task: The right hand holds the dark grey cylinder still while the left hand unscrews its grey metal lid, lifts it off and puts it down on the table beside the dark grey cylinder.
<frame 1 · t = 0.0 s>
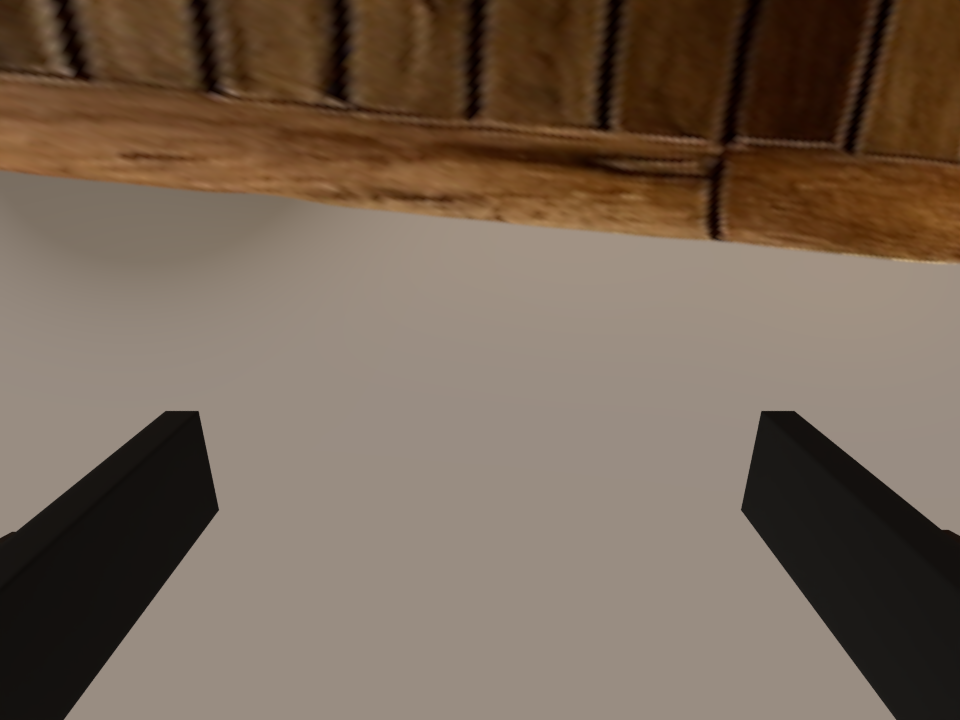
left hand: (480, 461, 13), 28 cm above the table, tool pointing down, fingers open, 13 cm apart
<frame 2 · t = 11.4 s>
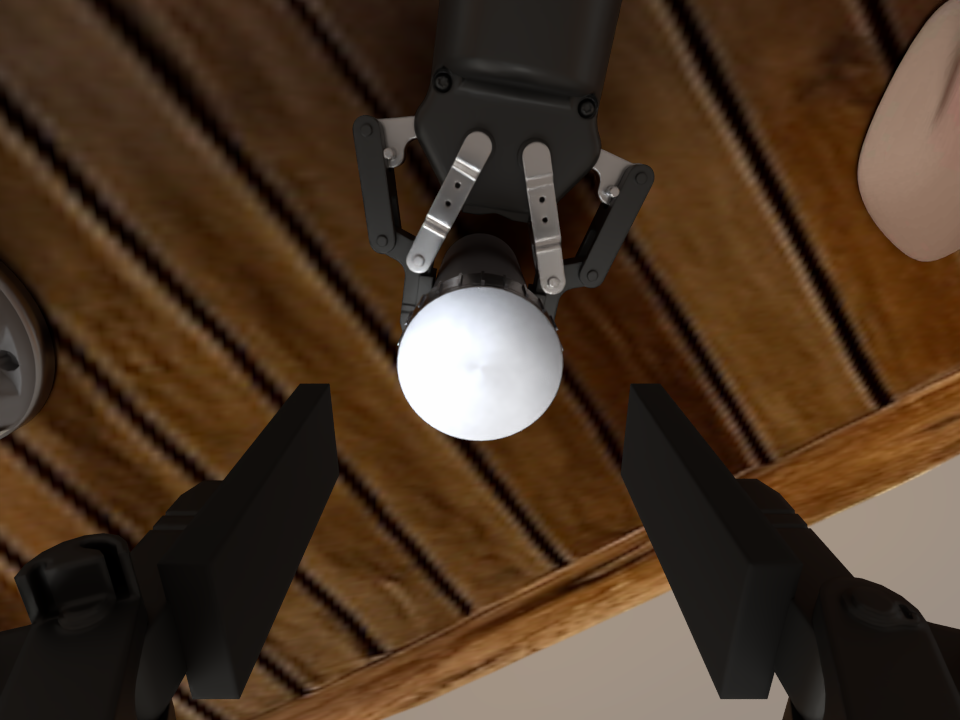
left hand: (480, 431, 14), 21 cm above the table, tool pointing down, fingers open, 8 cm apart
right hand: (472, 348, 28), fingers closed on dark grey cylinder, 5 cm apart
anatomical model: (957, 136, 31), on the table
dark grey cylinder: (480, 272, 34), on the table, touching right hand
lid: (479, 364, 19), point 16 cm above the table, screwed on, not yet turned
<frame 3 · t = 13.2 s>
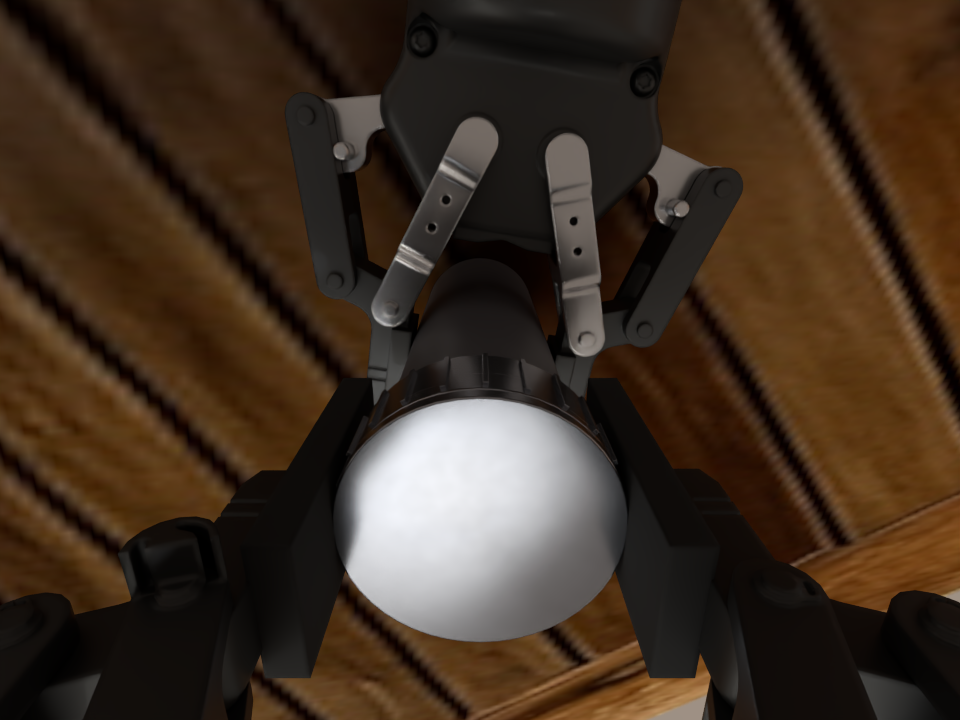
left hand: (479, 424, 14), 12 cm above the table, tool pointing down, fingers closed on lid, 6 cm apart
right hand: (469, 424, 20), fingers closed on dark grey cylinder, 5 cm apart
dark grey cylinder: (479, 309, 25), on the table, touching right hand
lid: (480, 520, 11), point 16 cm above the table, screwed on, not yet turned, touching left hand
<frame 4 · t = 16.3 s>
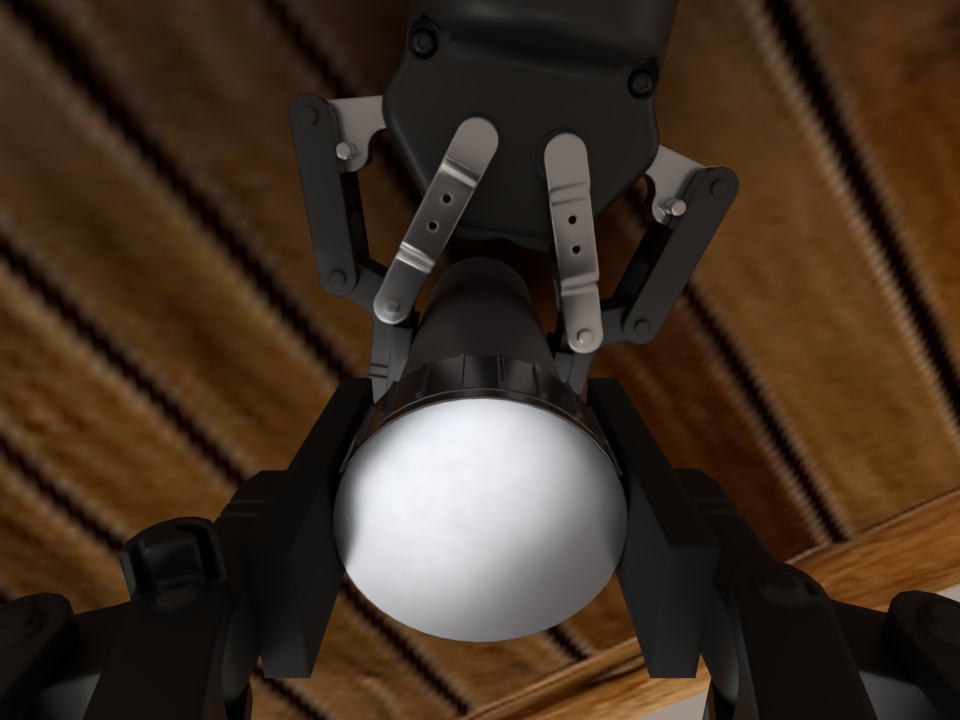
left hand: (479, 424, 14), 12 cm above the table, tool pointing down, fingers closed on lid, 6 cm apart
right hand: (469, 421, 20), fingers closed on dark grey cylinder, 5 cm apart
dark grey cylinder: (480, 307, 26), on the table, touching right hand
lid: (480, 520, 11), point 16 cm above the table, turned 88° so far, risen 0.3 cm, still on its thread, touching left hand
when the left hand's fingers open (0 cm above the table, at t = 23.0 s): lid drops 2 cm, point 2 cm above the table.
when the right hand's fingers open (7 cm above the table, at t = 23.7 s): dark grey cylinder stays where it is, on the table.
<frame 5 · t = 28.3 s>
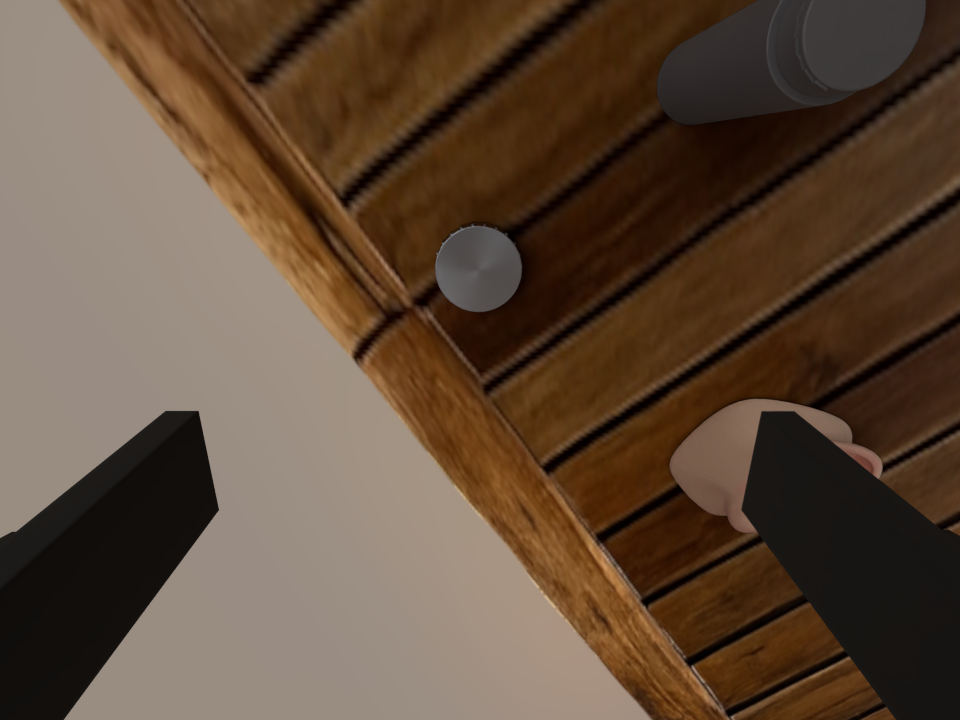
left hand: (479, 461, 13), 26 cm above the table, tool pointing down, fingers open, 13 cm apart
anatomical model: (756, 459, 43), on the table
dark grey cylinder: (695, 82, 34), on the table
lid: (478, 269, 36), point 2 cm above the table, off its thread
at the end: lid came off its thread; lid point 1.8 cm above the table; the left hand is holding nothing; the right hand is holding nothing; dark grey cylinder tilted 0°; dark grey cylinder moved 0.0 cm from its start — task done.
